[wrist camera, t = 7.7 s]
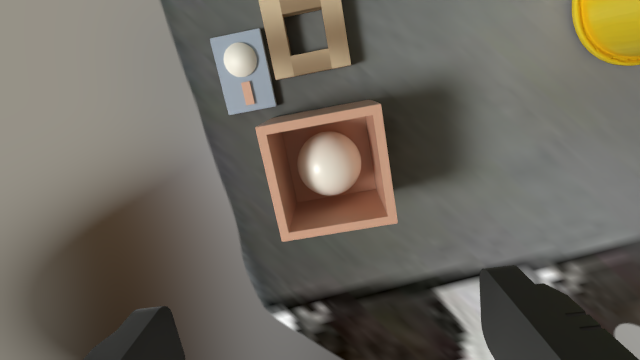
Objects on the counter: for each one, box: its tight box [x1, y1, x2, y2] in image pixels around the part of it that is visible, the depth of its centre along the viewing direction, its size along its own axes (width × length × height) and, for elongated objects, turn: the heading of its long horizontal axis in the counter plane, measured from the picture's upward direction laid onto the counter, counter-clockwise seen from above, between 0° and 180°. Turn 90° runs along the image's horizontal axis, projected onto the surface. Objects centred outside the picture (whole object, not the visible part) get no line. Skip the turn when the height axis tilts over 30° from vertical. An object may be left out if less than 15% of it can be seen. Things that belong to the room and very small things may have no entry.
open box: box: [255, 99, 398, 242], centre depth 27 cm, size 8×8×7 cm
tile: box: [210, 28, 277, 115], centre depth 28 cm, size 6×4×1 cm, turn 11°
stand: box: [259, 0, 351, 80], centre depth 27 cm, size 6×6×1 cm
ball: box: [297, 131, 361, 196], centre depth 27 cm, size 5×5×5 cm
